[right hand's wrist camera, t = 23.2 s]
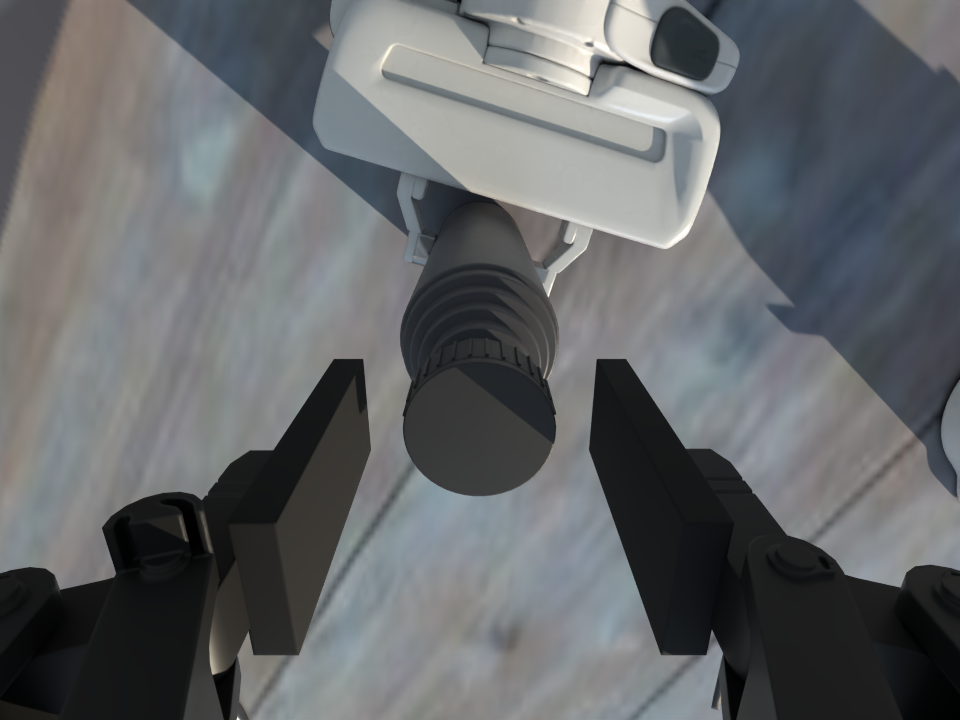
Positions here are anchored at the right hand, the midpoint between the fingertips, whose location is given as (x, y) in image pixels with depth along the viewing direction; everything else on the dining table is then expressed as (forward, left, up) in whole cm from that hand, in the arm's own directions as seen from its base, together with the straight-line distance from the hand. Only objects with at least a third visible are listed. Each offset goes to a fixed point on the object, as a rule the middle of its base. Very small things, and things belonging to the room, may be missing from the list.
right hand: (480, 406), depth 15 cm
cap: (0, 0, +1) cm, 1 cm away
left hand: (0, -1, -18) cm, 18 cm away
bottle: (0, 0, -24) cm, 24 cm away
